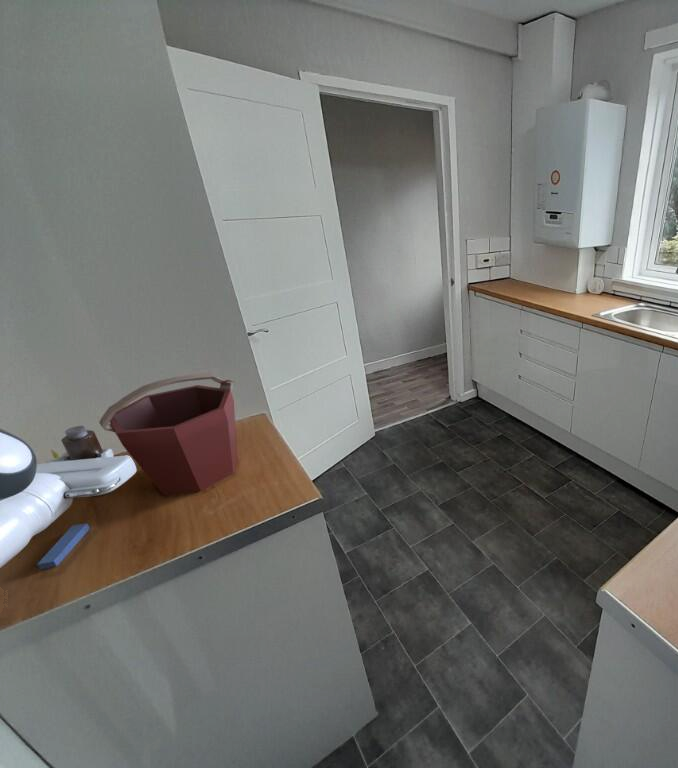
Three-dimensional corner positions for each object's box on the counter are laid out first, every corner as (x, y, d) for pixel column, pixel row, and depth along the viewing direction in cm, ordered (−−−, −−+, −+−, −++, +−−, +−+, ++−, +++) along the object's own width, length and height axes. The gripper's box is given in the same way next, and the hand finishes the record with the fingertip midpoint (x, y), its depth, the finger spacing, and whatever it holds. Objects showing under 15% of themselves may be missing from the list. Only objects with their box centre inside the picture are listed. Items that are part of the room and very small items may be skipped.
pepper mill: (89, 500, 78) (58, 437, 72) (86, 490, 81) (56, 429, 75) (120, 490, 81) (92, 429, 76) (116, 480, 84) (89, 421, 78)
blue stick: (59, 571, 74) (53, 561, 73) (42, 574, 73) (36, 564, 72) (92, 532, 82) (87, 522, 81) (77, 534, 82) (72, 525, 81)
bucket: (250, 437, 115) (225, 354, 104) (264, 477, 99) (235, 385, 88) (137, 469, 101) (94, 378, 90) (132, 521, 85) (79, 418, 75)
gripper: (100, 477, 67) (147, 434, 80) (-58, 492, 63) (18, 445, 75) (114, 507, 70) (158, 461, 82) (-37, 524, 65) (33, 473, 78)
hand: (90, 453), depth 79 cm, fingers closed on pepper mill, 4 cm apart
